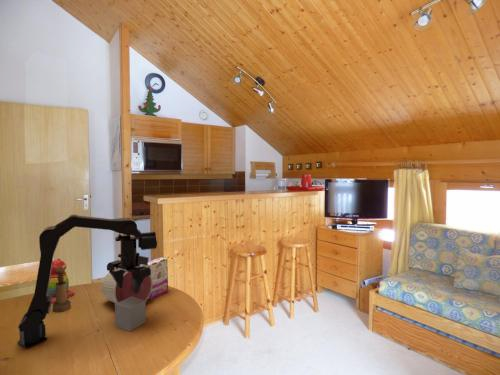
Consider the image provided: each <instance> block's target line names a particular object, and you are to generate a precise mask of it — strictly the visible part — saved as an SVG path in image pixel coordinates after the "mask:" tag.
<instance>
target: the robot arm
mask: <svg viewBox="0 0 500 375" xmlns="http://www.w3.org/2000/svg"><path fill="white" fill-rule="evenodd" d="M76 227H77V228H86V229H94V230H95V229H97V230H105V231H106V230H107V231H111V232H115V233H118V235H117V236H116V237H115V238H114V240H115V242H120V253H119V254H117V257H118V258H120V259H118V260H113V261H111V262H108V263H107V265H106V271H107V272H108V273H110V274H111V275H112V277H113V278H114V280H115V282H116V283H117V285H118V287H119V288H122V285H123V273H124V272H125V271H128V272H132V277H133V278H131V279H132V283H133V287H134V291H135V293H136V294H137V293H138V292H139V289H140V287H141V284H142V282H143V280H144V278H146V277H148V276H149V275H151V269H150V268H148V267H144V266H143V265H147V264H148V261H150V260H149V259H150V257H147V256H143V255H140V252H137V248H140V250H141V251H144V250H156V249H157V248H158V240H157V236H156V234H157V233H156V231H150V232H147V231H146V232H141V230H140V229H138V224H137V223H136V221H135V220H134V219H133V218H131V217H120V218H118V217H117V218H105V217H103V218H102V217H95V216H88V215H87V216H86V215H79V214H70V215H69V216H68V217H67V218H66V219H63V220H61V221H60V222H59V223H57V224H56V225H52V226H51V225H49V226H48V227H45V228H44V229H43V231H42V232H41V233H40V234H39V237H38V239H39V240H38V241H39V242H38V243H39V252H40V258H39V264H38V269H37V276H36V281H35V287H34V293H33V297H32V299H31V302H30V304H29V306H28V309H27V311H26V312H25V314H24V315H23V316H22V318H21V320H20V322H19V324H18V326H17V328H18V329H19V330H18V332H19V341H17V342H16V343H17V344H18V345H19V346H21V347H23V348H25V349H29V348H32V347H34V346H36V345H38V344H40V343H42V342H43V343H44V342H45V341H47V340H48V337H46V336H47V334H46V333H47V332H46V324H45V323H44V320H45V318H46V317H47V315H49V314H50V312H51V308H52V303H51V300H52V297H53V296H48V287H49V281H50V275H51V269H52V263H53V261H54V257H55V252H56V250H57V247H58V244H59V242H60V239H61V237H63V236H64V235H66V234H67V233H69V232H70V231H71V230H73V229H74V228H76ZM141 265H142V267H139V268H136V267H137V266H141Z"/></svg>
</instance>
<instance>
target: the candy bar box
mask: <svg viewBox="0 0 500 375" xmlns="http://www.w3.org/2000/svg"><path fill="white" fill-rule="evenodd" d="M142 266H144V267H148V268H150V269H151V277H152V290H151V294H150V296H149V298H148V299H147V300H153V299H155V298H157V297H159V296H162V295H163V294H165V293H168V292H169V279H168V278H169V276H168V275H169V272H168V271H169V270H168V268H169V266H168V258H167V257H162V256H161V257H160V256H159V257H157V258H155V259H151V260H148V264H147V265H142Z"/></svg>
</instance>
